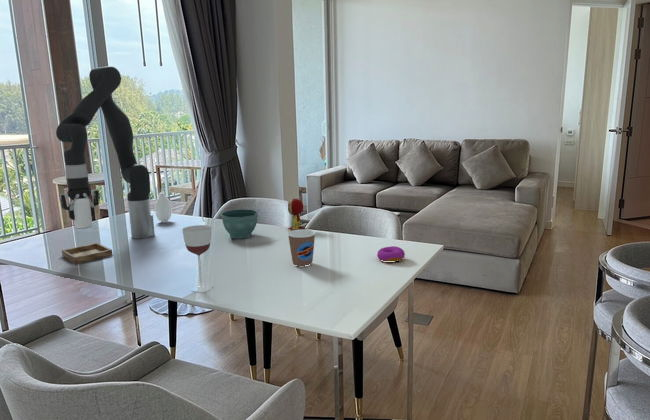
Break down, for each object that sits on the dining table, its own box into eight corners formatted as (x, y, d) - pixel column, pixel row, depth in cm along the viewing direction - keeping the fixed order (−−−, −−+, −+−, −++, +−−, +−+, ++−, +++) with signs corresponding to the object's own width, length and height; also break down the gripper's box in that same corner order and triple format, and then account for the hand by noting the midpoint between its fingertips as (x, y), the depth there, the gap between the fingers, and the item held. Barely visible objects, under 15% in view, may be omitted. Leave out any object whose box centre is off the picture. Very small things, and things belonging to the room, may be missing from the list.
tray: (98, 248, 202) (97, 242, 202) (112, 255, 192) (111, 249, 191) (62, 256, 193) (61, 250, 192) (75, 264, 182) (74, 257, 182)
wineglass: (190, 284, 159) (185, 225, 155) (216, 283, 160) (212, 224, 156) (185, 293, 151) (180, 232, 147) (213, 292, 152) (208, 230, 148)
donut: (378, 255, 186) (378, 244, 185) (405, 256, 184) (405, 245, 183) (375, 263, 176) (375, 251, 175) (403, 265, 174) (403, 253, 173)
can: (85, 229, 186) (81, 199, 184) (70, 228, 188) (66, 198, 185) (96, 225, 192) (92, 195, 190) (82, 224, 194) (78, 195, 191)
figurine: (288, 227, 231) (287, 197, 228) (308, 227, 229) (307, 197, 226) (284, 232, 222) (283, 200, 219) (305, 232, 221) (304, 200, 218)
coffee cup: (295, 270, 170) (294, 238, 168) (284, 262, 179) (283, 231, 176) (321, 265, 175) (320, 234, 172) (309, 258, 184) (308, 227, 181)
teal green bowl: (266, 234, 219) (265, 211, 217) (242, 243, 206) (240, 218, 204) (239, 230, 228) (238, 207, 226) (215, 238, 215) (213, 214, 212)
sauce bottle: (153, 223, 244) (150, 189, 240) (161, 220, 251) (158, 186, 247) (168, 224, 242) (164, 189, 239) (175, 220, 250) (172, 186, 246)
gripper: (92, 173, 193) (97, 213, 197) (53, 177, 183) (59, 219, 187) (99, 174, 188) (104, 216, 191) (59, 179, 178) (65, 222, 182)
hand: (82, 217), depth 189 cm, fingers closed on can, 6 cm apart
